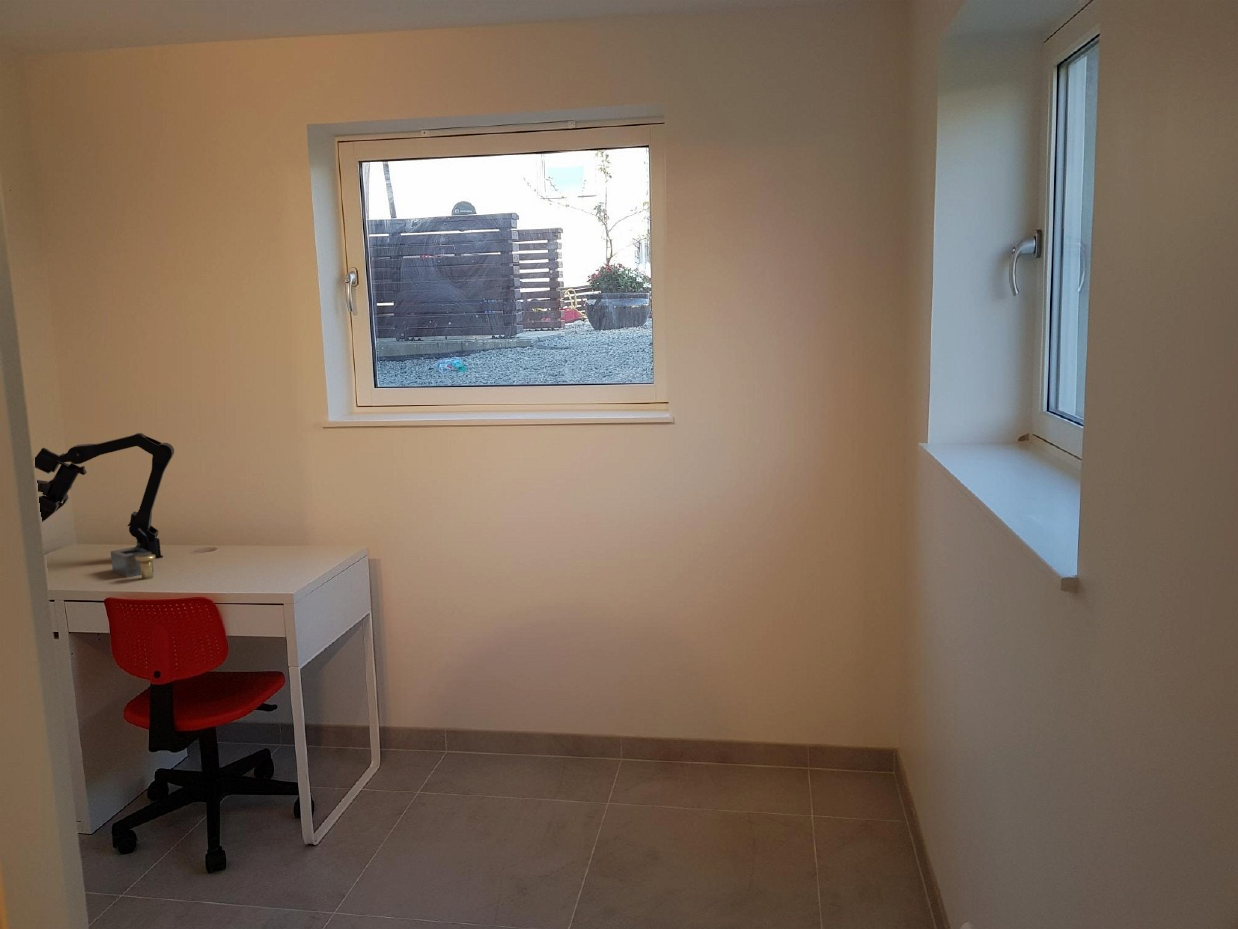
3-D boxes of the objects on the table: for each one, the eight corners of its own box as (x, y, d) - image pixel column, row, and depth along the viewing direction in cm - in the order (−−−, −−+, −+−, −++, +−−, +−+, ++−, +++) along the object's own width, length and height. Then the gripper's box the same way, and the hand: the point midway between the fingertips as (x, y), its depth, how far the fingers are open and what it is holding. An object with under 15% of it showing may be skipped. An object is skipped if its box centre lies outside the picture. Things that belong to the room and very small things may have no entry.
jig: (139, 566, 318) (137, 546, 317) (153, 572, 310) (151, 552, 309) (112, 571, 312) (110, 551, 312) (126, 577, 304) (124, 557, 303)
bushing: (153, 574, 307) (151, 553, 306) (160, 577, 303) (158, 556, 302) (134, 578, 303) (132, 556, 302) (141, 581, 299) (139, 559, 298)
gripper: (44, 465, 325) (20, 506, 325) (30, 473, 308) (5, 517, 307) (78, 480, 329) (55, 521, 328) (66, 489, 311) (41, 533, 311)
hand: (38, 522), depth 318 cm, fingers open, 9 cm apart
